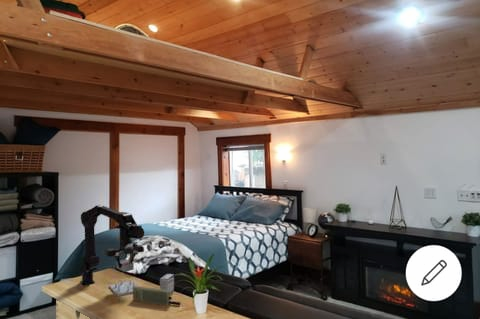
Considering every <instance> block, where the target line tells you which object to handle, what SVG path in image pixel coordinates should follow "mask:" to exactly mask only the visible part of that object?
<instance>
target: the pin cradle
mask: <svg viewBox="0 0 480 319" xmlns="http://www.w3.org/2000/svg"><path fill="white" fill-rule="evenodd" d="M134 286H138V285H137V284H136V282H134V281H132V279H131V278H130V279H129V280H128V281H123V278H121V279H120V282H119V283H118V282H117V281H114V283H113V284H109V285H108V287H109V289H110V290H111V291H112V292H113V293H114V294H115V295H116V296H117V297H120V296H125V295H129V294H133V287H134Z"/></svg>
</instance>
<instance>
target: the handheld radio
mask: <svg viewBox="0 0 480 319" xmlns="http://www.w3.org/2000/svg"><path fill="white" fill-rule="evenodd" d="M170 292H171V290H163V289H160V288H153V287H147V286H146V287H145V286H139V285H137V286H134V287H133V293H132V300H133V301H135V302H140V303H141V302H142V303H148V304H156V305H157V304H158V305H165V306H169V305H175V306H176V305H177V306H181V302H179V301H171V300H172V299H173V297H172V296H171V295H172V293H173V292H172V293H170Z"/></svg>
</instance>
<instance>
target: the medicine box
mask: <svg viewBox="0 0 480 319" xmlns="http://www.w3.org/2000/svg"><path fill="white" fill-rule="evenodd" d="M159 289H163V290H171V292H170V293H173V292H174V291H175V275H174V273H173V274H172V273H166V274H164V275H163V276H162V277H160V278H159Z"/></svg>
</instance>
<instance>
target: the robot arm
mask: <svg viewBox="0 0 480 319" xmlns="http://www.w3.org/2000/svg"><path fill="white" fill-rule="evenodd" d="M101 215H102V216H105V217H107V218H110V219H113V221H115V223H117V224H118V225H117V226H116V230H117V229H119V233H118V234H119V235H118V236H119V238H118V241H119V243H118V244H119V246H118V249H115V248H106V250H105V251H104V252H105V253H104V254H105V255H106V257H108V258H109V257H112V258H114V259H115V262H117V265H118V267H119V268H120V261H121V259H120V258H121V256H120V254H124V255H127V256H128V255H129V261H130V262H132V263H134V262H133V261H134V259H135V257H136V256H137V255H138V254H139V253H144V252H145V247H144V246H142V245H141V244H138V243H133V242H132V239H138V240H141V239H143V238H144V236H145V230H144V228H143V226H142V225H141V224H139V225H138V224H137V222H136V220H135V218H134V216H133V214H132V213H130V212H127V211H118V210H115V209H113V208H110V207H107V206H105V205H104V204H97V205H95V206H93V207H92V208H90V209H87V210H85V211H83V212H82V213H81V214H80V221H81V222H80V223H81V224H82V226H83V227H84V256H83V257H82V261H81V265H80V266H79V267H78V268H77V273H78V274H81V280H79V282H80V284H81V286H85V285H90V284H95V283H96V281H95V280H94V271H96V270H97V269H98V266H100V265H99V264H100V255H99V254H97V253H96V245H95V244H96V242H95V241H96V240H95V234H96V233H95V227H96V224H97V222H98V217H100V216H101Z"/></svg>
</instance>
